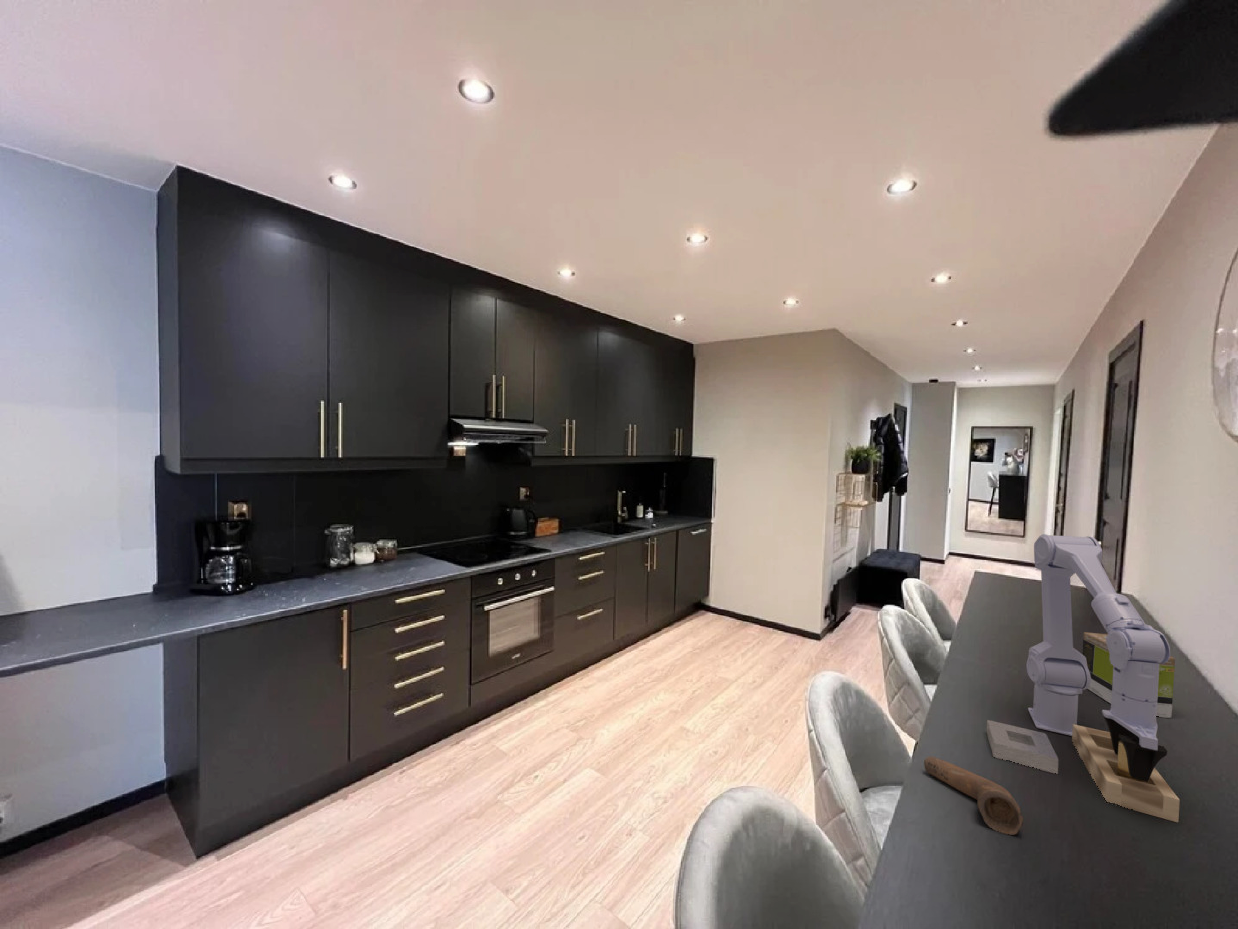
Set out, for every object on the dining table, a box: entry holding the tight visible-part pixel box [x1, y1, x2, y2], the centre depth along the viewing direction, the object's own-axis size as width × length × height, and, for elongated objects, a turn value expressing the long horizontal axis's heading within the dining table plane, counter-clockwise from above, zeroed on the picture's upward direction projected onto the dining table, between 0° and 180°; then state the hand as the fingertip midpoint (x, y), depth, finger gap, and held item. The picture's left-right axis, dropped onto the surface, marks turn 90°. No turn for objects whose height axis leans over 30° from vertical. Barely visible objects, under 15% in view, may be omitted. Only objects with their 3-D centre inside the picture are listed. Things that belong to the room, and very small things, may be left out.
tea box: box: [1081, 631, 1176, 719], centre depth 124 cm, size 15×10×15 cm
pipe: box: [923, 755, 1024, 836], centre depth 88 cm, size 6×17×10 cm
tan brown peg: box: [1117, 741, 1142, 782], centre depth 90 cm, size 3×3×9 cm
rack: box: [1071, 724, 1181, 823], centre depth 95 cm, size 21×9×4 cm, turn 150°
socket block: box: [986, 719, 1059, 775], centre depth 102 cm, size 10×10×3 cm
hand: (1130, 766), depth 90 cm, fingers open, 7 cm apart
